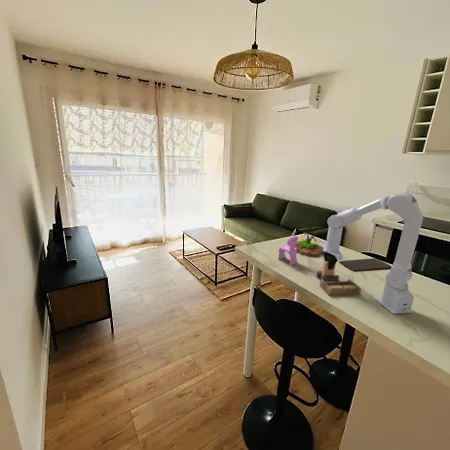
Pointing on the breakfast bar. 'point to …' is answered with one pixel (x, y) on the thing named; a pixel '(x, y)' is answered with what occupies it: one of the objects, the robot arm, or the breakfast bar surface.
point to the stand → (327, 277)
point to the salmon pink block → (325, 269)
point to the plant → (308, 247)
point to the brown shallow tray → (340, 292)
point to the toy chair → (289, 250)
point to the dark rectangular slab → (365, 264)
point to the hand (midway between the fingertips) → (328, 268)
